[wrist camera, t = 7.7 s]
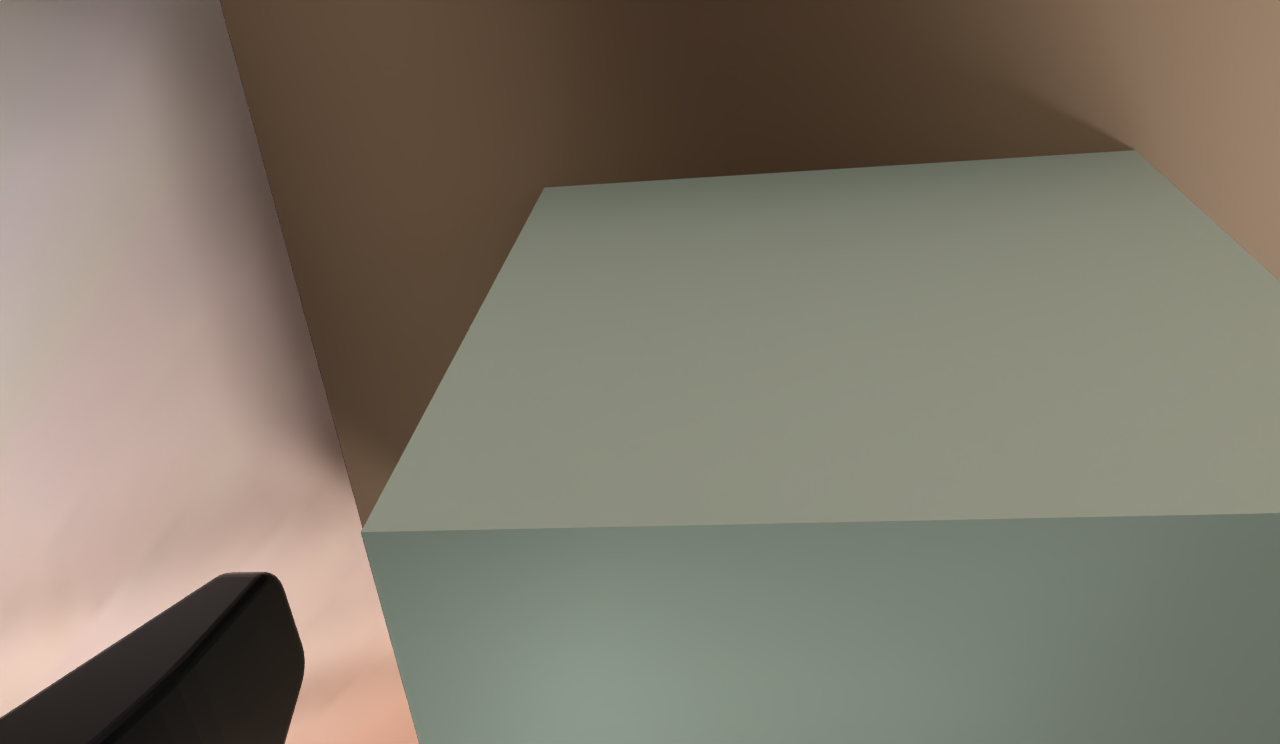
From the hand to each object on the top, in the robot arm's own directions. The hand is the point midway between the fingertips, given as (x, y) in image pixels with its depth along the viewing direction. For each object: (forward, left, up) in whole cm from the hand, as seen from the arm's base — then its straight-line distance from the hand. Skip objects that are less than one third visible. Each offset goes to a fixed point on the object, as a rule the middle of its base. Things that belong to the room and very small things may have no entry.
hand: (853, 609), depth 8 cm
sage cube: (0, 0, -3) cm, 3 cm away
